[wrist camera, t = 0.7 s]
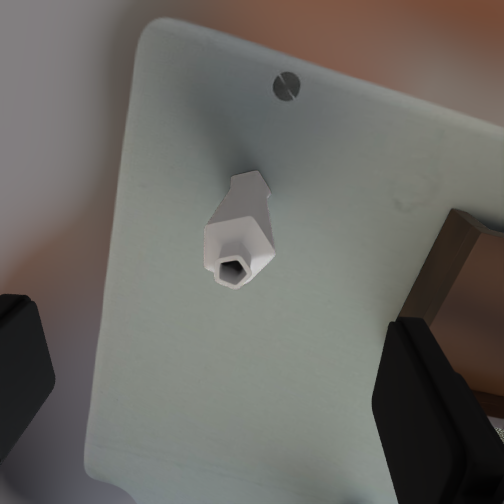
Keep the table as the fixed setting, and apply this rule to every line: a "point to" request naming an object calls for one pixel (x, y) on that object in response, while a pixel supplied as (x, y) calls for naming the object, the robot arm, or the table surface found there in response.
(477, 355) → the wooden display stand
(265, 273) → the table surface
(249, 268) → the perfume bottle
